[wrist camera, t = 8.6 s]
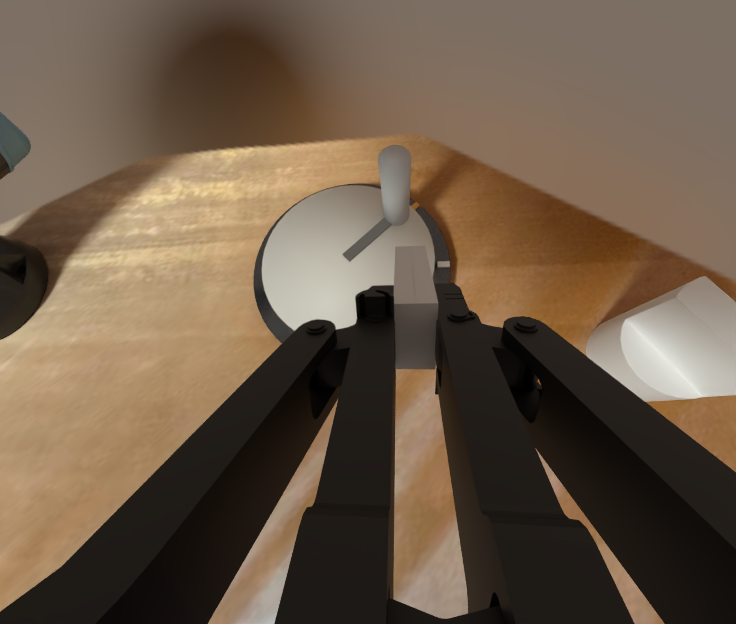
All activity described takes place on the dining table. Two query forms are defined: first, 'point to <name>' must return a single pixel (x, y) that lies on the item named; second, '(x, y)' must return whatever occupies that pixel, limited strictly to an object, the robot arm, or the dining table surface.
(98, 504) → the dining table surface
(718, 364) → the cylinder with rectangular tab
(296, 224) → the dial
